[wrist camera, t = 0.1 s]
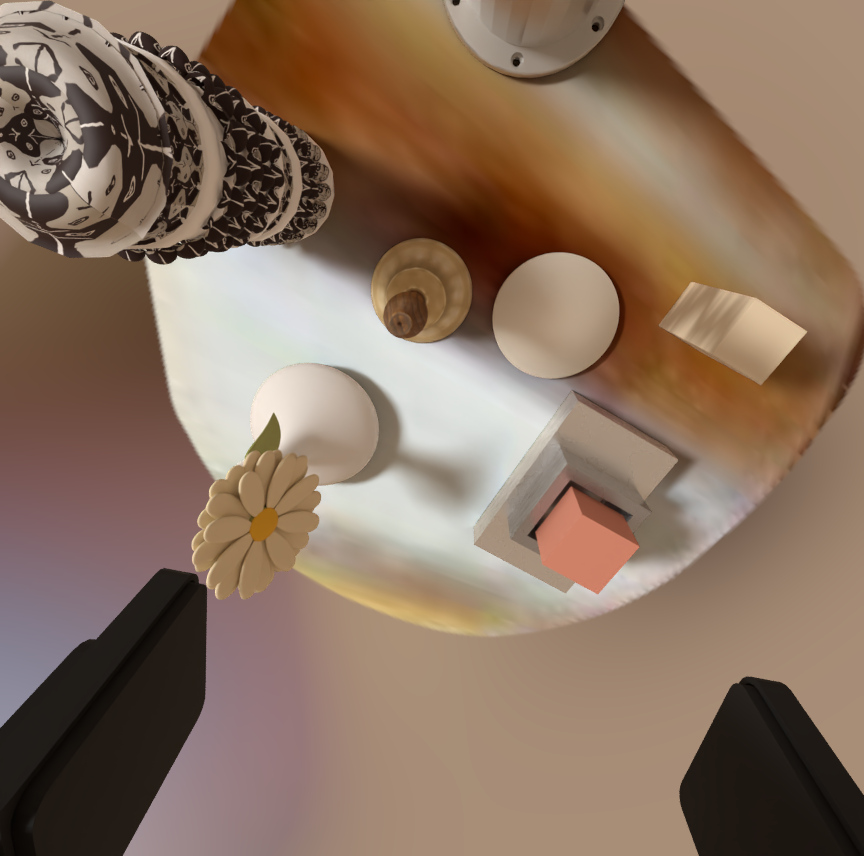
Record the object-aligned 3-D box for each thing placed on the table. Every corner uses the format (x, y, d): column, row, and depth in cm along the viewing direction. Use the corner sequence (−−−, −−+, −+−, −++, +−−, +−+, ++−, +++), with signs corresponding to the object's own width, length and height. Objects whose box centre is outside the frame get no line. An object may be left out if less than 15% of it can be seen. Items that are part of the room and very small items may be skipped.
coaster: (507, 241, 41) (507, 241, 40) (633, 264, 41) (635, 265, 40) (481, 364, 45) (481, 366, 44) (596, 385, 45) (598, 388, 44)
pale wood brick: (691, 281, 41) (756, 298, 32) (731, 307, 42) (807, 331, 32) (658, 325, 42) (711, 353, 33) (697, 350, 43) (760, 385, 34)
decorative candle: (364, 200, 41) (223, 166, 17) (275, 271, 43) (46, 325, 20) (288, 88, 38) (5, -127, 15) (199, 170, 41) (-166, 95, 17)
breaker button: (571, 485, 41) (582, 514, 37) (623, 515, 42) (639, 546, 38) (535, 532, 43) (542, 564, 39) (585, 559, 44) (597, 594, 40)
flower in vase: (348, 496, 50) (244, 731, 27) (239, 440, 49) (29, 636, 25) (412, 382, 46) (354, 545, 22) (294, 317, 44) (99, 418, 21)
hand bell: (406, 216, 41) (369, 210, 26) (492, 277, 42) (505, 305, 27) (352, 305, 44) (292, 347, 29) (435, 360, 45) (418, 428, 30)
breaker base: (571, 389, 45) (587, 415, 39) (665, 446, 46) (695, 479, 40) (473, 526, 50) (474, 567, 44) (560, 573, 52) (572, 619, 46)
